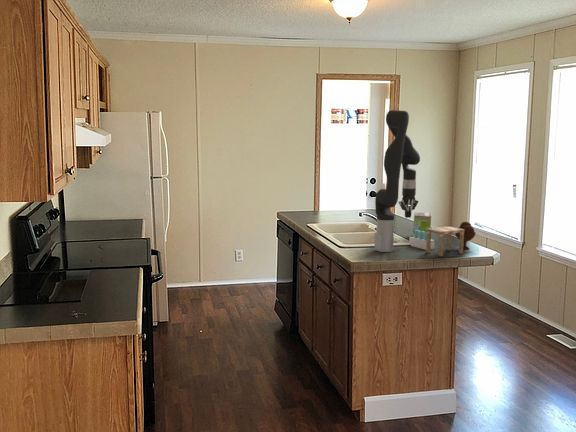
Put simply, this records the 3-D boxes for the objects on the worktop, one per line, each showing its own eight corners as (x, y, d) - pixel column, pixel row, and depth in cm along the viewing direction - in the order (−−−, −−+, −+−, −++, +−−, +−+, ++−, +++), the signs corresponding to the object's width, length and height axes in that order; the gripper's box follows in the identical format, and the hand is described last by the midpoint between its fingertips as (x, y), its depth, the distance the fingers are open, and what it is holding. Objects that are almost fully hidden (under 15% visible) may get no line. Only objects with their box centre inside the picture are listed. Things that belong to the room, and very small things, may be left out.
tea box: (430, 240, 360) (431, 215, 358) (413, 239, 362) (414, 215, 360) (429, 236, 375) (430, 212, 372) (413, 235, 377) (414, 211, 374)
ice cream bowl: (450, 247, 340) (451, 221, 338) (466, 246, 344) (468, 220, 341) (461, 251, 330) (463, 224, 328) (478, 249, 334) (480, 222, 332)
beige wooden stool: (440, 256, 316) (441, 231, 314) (426, 252, 326) (427, 228, 324) (463, 253, 324) (464, 229, 322) (448, 249, 334) (449, 226, 332)
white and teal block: (425, 250, 333) (426, 234, 332) (409, 245, 345) (409, 230, 344) (434, 249, 336) (434, 233, 335) (417, 244, 348) (417, 229, 347)
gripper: (404, 188, 340) (403, 219, 343) (422, 187, 347) (421, 217, 349) (395, 187, 346) (394, 217, 349) (413, 186, 353) (412, 215, 356)
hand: (407, 217), depth 349 cm, fingers closed
